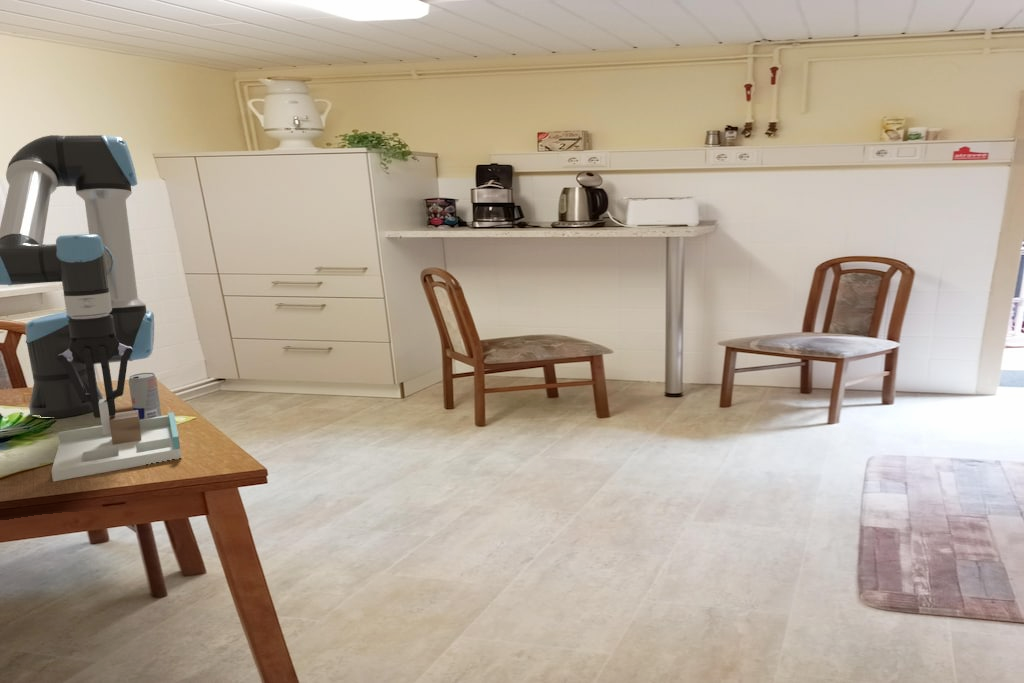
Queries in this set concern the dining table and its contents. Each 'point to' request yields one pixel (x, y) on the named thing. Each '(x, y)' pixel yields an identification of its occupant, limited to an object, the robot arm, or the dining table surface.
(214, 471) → the dining table surface
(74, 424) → the dining table surface
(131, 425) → the walnut block
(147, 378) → the energy drink
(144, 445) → the board
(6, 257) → the robot arm
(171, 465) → the dining table surface
